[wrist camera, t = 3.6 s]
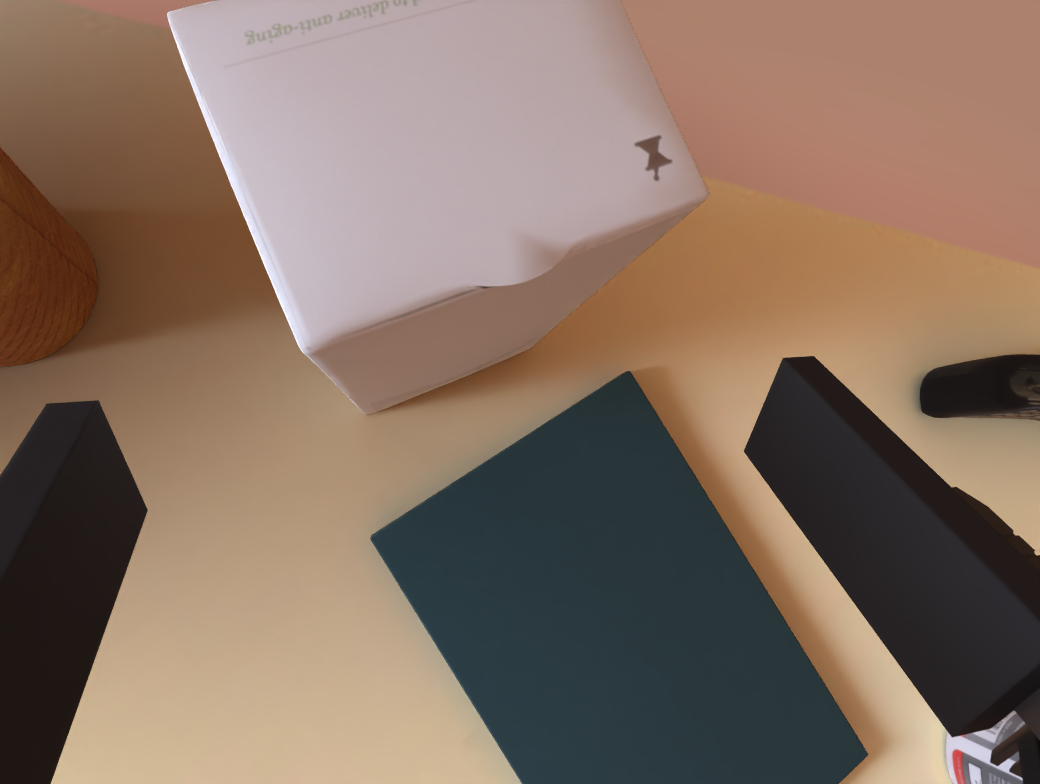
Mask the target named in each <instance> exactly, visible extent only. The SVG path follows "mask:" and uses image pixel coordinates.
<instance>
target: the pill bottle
mask: <svg viewBox="0 0 1040 784" xmlns="http://www.w3.org/2000/svg"><path fill="white" fill-rule="evenodd" d="M1023 725H1025V722H1024V721H1023V720H1022V719H1021V718H1020V716H1019V715H1018V714H1017V713H1016V712H1015V710H1014V711H1012V712H1011V713H1010V714H1009V715H1007V716H1006V717H1005V718H1004V719H1002V720H1001V721H1000V722H999V723H997V724H996V725H995V726H994V727H992V728H991V729H987V730H983V731H979V732H974V733H970V734H966V735H962V736H957V737H953V738H952V737H951V735H950V734H949V733H947V738H946V762H947V767H948V771H949V775H950V778H951V780H952V783H953V784H1023V779H1022V778H1021V777H1019V776H1017V775H1015V774H1013V773H1010V772H1009V769H1010V768H1011V766H1012V765H1013V764H1014V763H1015V762H1016V761H1018V760H1019V759H1020V758H1019V751H1018V752H1017V753H1016V754H1014V755H1013V756H1011V757H1010V758H1009V759H1007V760H1006V761H1004V762H1003V763H1002V764H1000V765H999V766H996V765H994V764H992V763H990V759H991V752H992V750H993V749H994V748H995V747H996V746H998V745H999V744H1000V743H1001V742H1003V741H1004V740H1005V739H1006V738H1008V737H1009V736H1010V735H1012V734H1013V733H1014V732H1016V731H1017V730H1018V729H1020V728H1021V727H1022V726H1023Z"/></svg>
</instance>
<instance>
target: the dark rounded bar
mask: <svg viewBox="0 0 1040 784" xmlns="http://www.w3.org/2000/svg"><path fill="white" fill-rule="evenodd" d="M920 403H921V410H922V412H923V413H925V414H926V415H928V416H931V417H935V418H950V417H972V418H1020V419H1033V420H1040V355H1026V354H1019V355H1004V356H998V357H991V358H985V359H979V360H973V361H968V362H963V363H958V364H953V365H949V366H944V367H939V368H936V369H933V370H932V371H930V372H929V373H928V374H927V375H926V376H925V378H924V379H923V382H922V384H921V388H920Z"/></svg>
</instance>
